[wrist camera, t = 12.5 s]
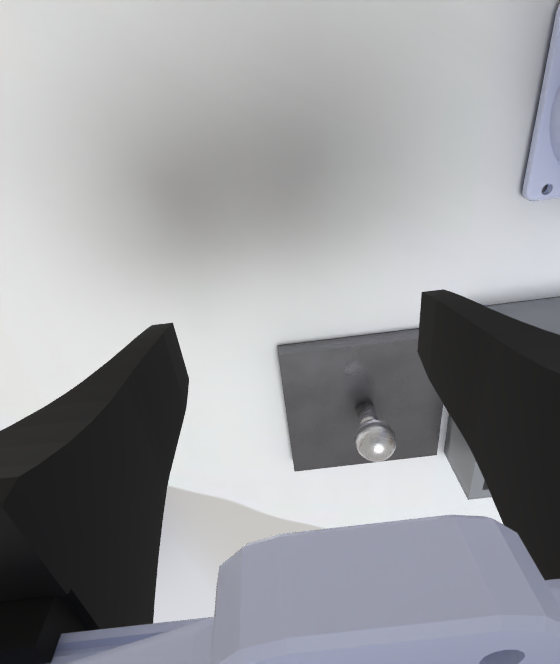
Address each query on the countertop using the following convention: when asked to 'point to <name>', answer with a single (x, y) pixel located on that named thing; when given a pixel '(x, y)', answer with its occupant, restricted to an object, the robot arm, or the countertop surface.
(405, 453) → the stud plate
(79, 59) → the countertop surface
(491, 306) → the charcoal bin
